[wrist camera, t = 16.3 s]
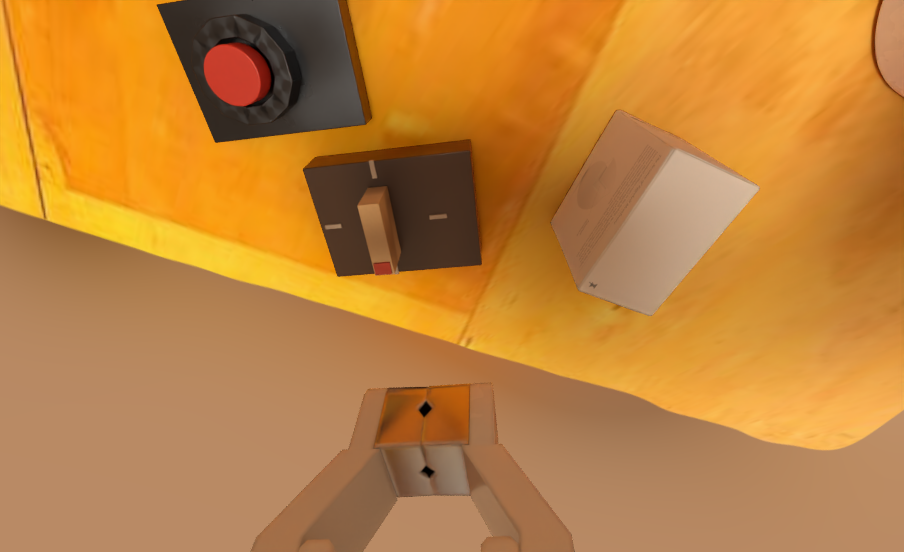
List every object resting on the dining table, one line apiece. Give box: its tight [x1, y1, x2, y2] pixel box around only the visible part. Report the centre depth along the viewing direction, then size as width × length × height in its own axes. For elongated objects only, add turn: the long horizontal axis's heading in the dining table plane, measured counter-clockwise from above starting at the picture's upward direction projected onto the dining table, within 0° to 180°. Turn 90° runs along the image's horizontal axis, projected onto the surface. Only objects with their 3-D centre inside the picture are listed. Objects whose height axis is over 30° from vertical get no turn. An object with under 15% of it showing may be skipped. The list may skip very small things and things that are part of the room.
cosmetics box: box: [551, 110, 760, 316], centre depth 30 cm, size 10×6×10 cm, turn 158°
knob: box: [357, 186, 401, 275], centre depth 33 cm, size 6×2×4 cm, turn 7°
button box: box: [157, 0, 372, 143], centre depth 29 cm, size 12×9×4 cm
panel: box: [303, 140, 482, 277], centre depth 35 cm, size 13×10×3 cm
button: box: [204, 42, 271, 106], centre depth 27 cm, size 4×4×2 cm
